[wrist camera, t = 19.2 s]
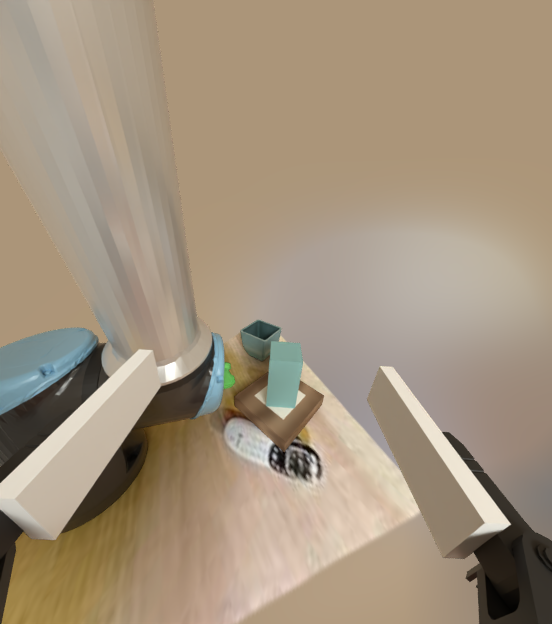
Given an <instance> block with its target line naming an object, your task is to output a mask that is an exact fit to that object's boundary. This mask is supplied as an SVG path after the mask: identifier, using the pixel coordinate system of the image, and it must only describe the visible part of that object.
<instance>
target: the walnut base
mask: <svg viewBox="0 0 552 624" xmlns="http://www.w3.org/2000/svg"><path fill="white" fill-rule="evenodd" d="M268 375H269V372H267V373H266V374H264V375H263V376H262V377H260V378H259V379H258V380H256V381H255V382H254V383H252V384H251V385H249V386H248V387H247V388H245V389H244V390H243V391H241V392H240V393H238V394H237V395H236V396H235V407H236V408H238V409H239V410H240V411H241V412H242V413H243V414H244V415H245V416H246V417H247V418H248V419H249V420H250V421H251V422H253V423H254V424H255V425H256V426H257V427H258V428H259V429H260V430H261V431H262V432H263V433H264V434H265V435H266V436H267V437H269V438H270V439H271V440H272V441H273V442H274V443H275V444H276V445H277V446H278V447H279V448H280V449H281V450H282V451H284V452H285V450H286V449H287V448H288V447H289V445H290V444H291V443H292V442H293V440H294V439H295V438H296V437H297V435H298V434H299V433H300V432H301V430H302V429H303V428H304V427H305V425H306V424H307V423H308V422H309V420H310V419H311V418H312V417H313V415H314V414H315V413H316V411H317V410H318V409H319V408H320V406H321V405H322V402H323V398H324V395H322V394H321V393H319V392H317V391H316V390H314V389H313V388H311V387H310V386H308V385H306V384H305V383H303V382H302V381H300V383H299V389H298V394H297V400H296V406H295V408H283V407H269V406H266V400H267V387H268Z"/></svg>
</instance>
